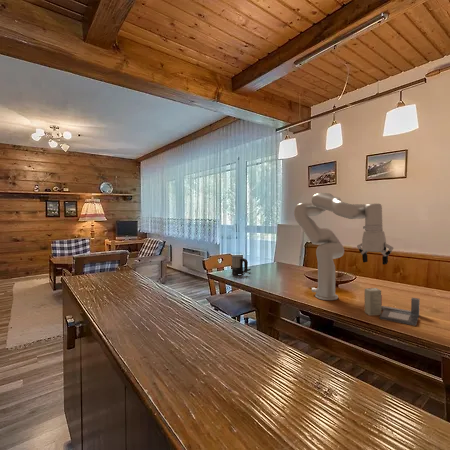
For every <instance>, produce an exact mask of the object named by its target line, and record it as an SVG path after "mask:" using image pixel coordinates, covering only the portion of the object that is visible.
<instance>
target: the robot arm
mask: <svg viewBox="0 0 450 450" xmlns="http://www.w3.org/2000/svg"><path fill="white" fill-rule="evenodd" d="M325 211H329V212H331V213H333V214H334V215H336V216H339V217H341V218H344V219H348V220H356V219H357V220H362V219H364V226H362V229H363V230H364V231H363V234H362V240H361V241H362V242H361V243H360V244H357V245H356V247H357V249H358V252H360V254H361V256H362V259H361V260H362V263H368V261H369V260H368V254H367V253H369V252H370V253H381V255H383V256H382V258H381V259H382V260H381V263H382V265H388V263H389V260H388V259H389V257H388V256H389V255H390V254H392V252H393V250H394V246H392V245H390V244H389V243H387V239H386V235H385V231H383V205H382V204H381V203H367V204H365V203H362V204H361V203H360V204H359V203H353V204H352V203H347V202H343V201H342V200H341V198H340V197H338V196H334V195H333V194H332V193H329V192H328V193H327V192H318V193H315V194H314V195H313V196H311V202H300V203H298V204H296V206H295V207H294V210H293V216H294V219H295V221H296V223H297V224H298V226H300V228H301V229H302V230H303V233H304V234H305V235H306V237H307V238H308V239H309V241H310V243H311V244H312V245H318V246H317V248H316V250H315V255H316V259H317V288H315V287H311V289H310V291H311V292H312V293H315V294H314V297H315V298H317V299H319V300H324V301H336V300H338V299H339V295H338V294H336V265H335V261H334V260H335V259H339V258H341V257H343V256H344V254H345V248H344V245H343V244H342V242H341V241H340V240H339V238H338V237H337V236H336V234H335V233H334V232H333V231H332V230H331V229H330V228H324V227H323V228H321V227H319V225H317V223H316V222H315V220H313V218H311V217H314V216H319V215H321V214H322V213H324V212H325ZM387 249H388V250H387Z"/></svg>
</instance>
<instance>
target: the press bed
mask: <svg viewBox="0 0 450 450" xmlns="http://www.w3.org/2000/svg"><path fill="white" fill-rule="evenodd" d="M379 319H380V320H385V321H390V322H394V323H397V324H398V323H400V324H402V325H403V324H404V325H410V326H414V327H416V326H417V323H418V321H419V317H418V316H413V315H408V314H402V313H397V312H391V311H386V310H382V311H381V315H379Z"/></svg>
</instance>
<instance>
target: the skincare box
mask: <svg viewBox="0 0 450 450" xmlns="http://www.w3.org/2000/svg"><path fill="white" fill-rule="evenodd" d="M381 295H382V290H381V289H379V288H377V287H371V288H364V313H365V314H367V315H368V316H380V315H381V314H382V310H381V306H382V305H381Z"/></svg>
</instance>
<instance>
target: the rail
mask: <svg viewBox="0 0 450 450" xmlns="http://www.w3.org/2000/svg"><path fill="white" fill-rule="evenodd" d="M410 301H411V302H410V305H411V306H410V310H409V309H404V308H403V309H402V308H397V307H391V306H385V305H381V311H384V310H386V311H391V312H397V313H402V314H408V315H413V316H418V318H420V298H418V297H417V298H416V297H411V299H410Z"/></svg>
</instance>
